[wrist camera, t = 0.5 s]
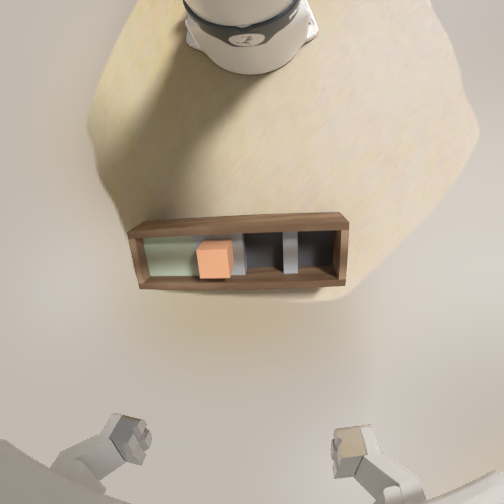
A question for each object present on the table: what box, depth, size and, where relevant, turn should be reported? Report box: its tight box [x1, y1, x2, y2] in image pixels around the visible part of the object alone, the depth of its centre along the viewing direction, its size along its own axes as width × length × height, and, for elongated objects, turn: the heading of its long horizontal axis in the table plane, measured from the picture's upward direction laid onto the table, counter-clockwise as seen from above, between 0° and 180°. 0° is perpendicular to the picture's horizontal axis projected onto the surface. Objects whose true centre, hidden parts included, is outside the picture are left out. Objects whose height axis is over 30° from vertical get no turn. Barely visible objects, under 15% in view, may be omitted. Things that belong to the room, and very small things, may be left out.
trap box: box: [127, 212, 349, 290], centre depth 40 cm, size 9×30×6 cm, turn 94°
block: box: [196, 239, 234, 279], centre depth 38 cm, size 4×4×4 cm
